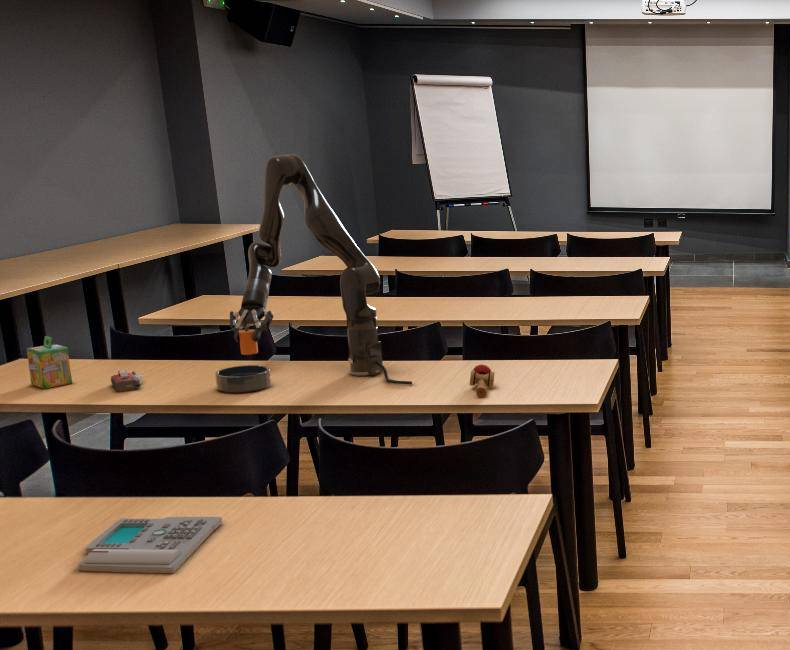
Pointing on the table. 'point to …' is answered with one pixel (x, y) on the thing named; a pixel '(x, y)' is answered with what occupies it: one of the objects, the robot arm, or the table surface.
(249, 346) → the squash
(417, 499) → the table surface
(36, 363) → the chalk box
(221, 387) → the bowl
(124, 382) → the grey and red device
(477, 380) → the kendama
